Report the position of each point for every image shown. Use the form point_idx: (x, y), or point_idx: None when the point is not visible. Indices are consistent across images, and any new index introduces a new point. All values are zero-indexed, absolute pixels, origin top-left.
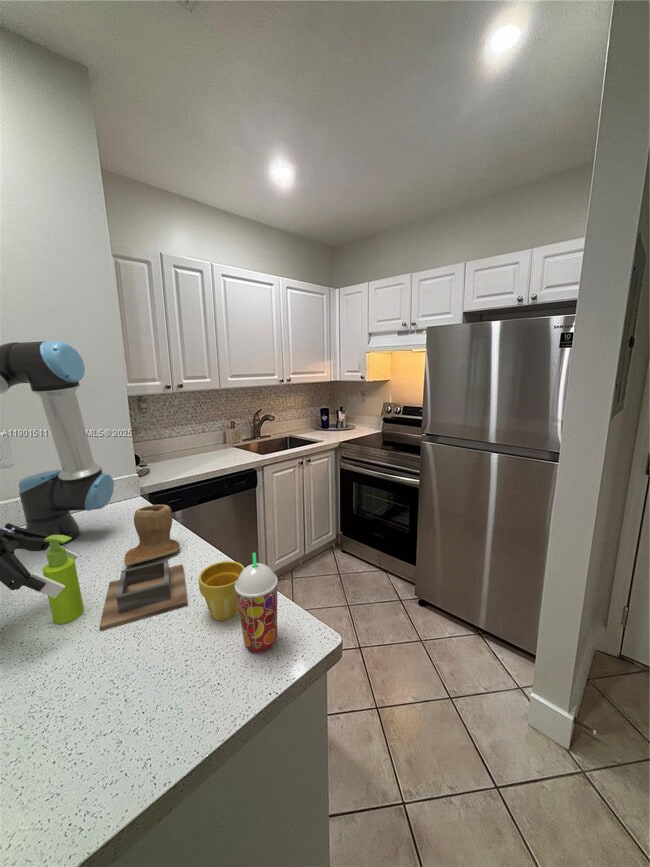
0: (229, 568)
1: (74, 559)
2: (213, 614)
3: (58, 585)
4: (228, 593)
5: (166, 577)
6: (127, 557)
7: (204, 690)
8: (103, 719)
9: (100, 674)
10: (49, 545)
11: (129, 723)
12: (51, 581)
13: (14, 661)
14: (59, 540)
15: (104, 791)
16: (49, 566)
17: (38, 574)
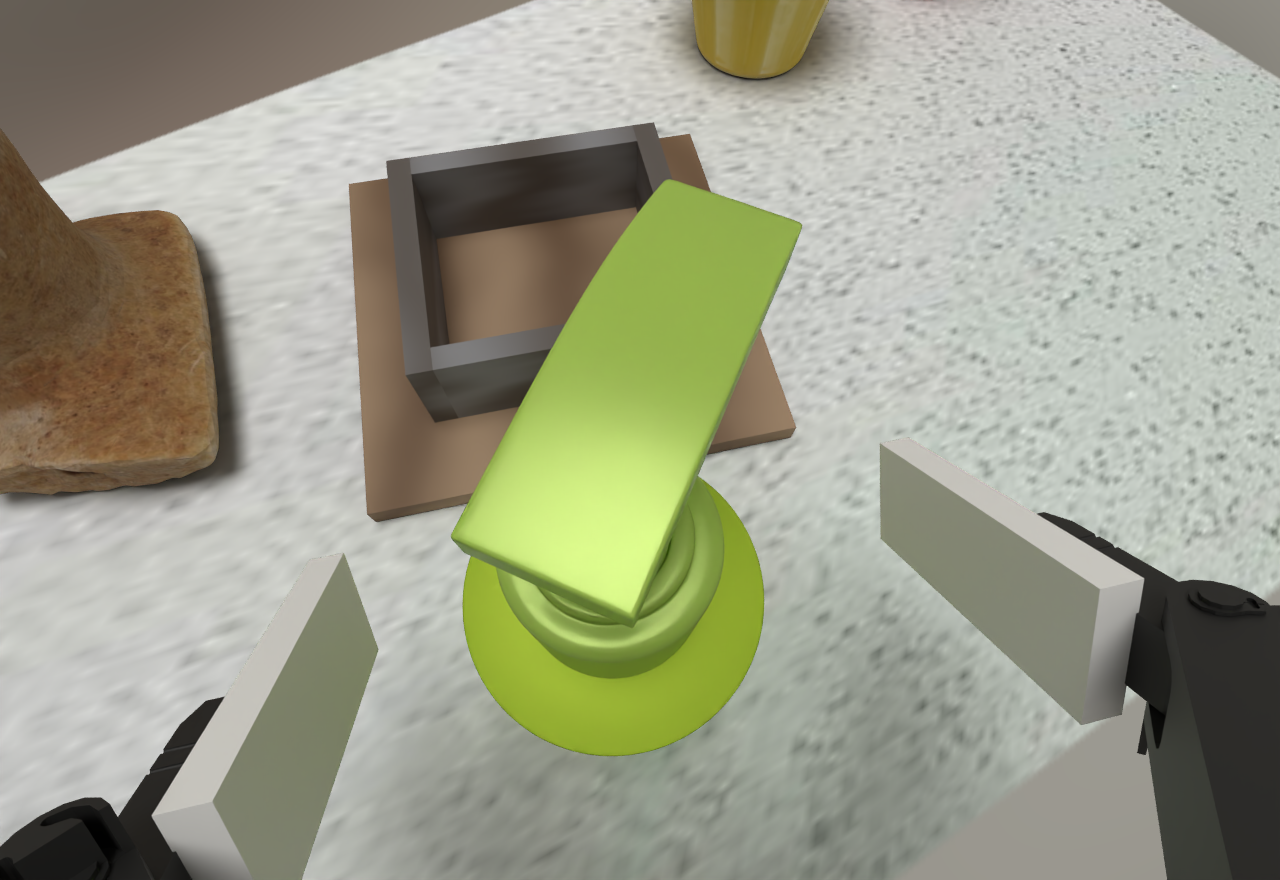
0: None
1: (353, 594)
2: (805, 44)
3: (937, 456)
4: None
5: (586, 139)
6: (141, 442)
7: (1087, 75)
8: (1206, 285)
9: (1037, 351)
10: (181, 868)
11: (1208, 218)
12: (974, 482)
13: (961, 784)
14: (773, 284)
15: None
16: (677, 650)
17: (1060, 556)
